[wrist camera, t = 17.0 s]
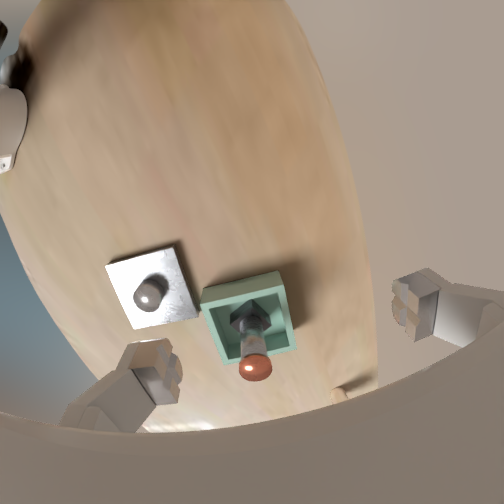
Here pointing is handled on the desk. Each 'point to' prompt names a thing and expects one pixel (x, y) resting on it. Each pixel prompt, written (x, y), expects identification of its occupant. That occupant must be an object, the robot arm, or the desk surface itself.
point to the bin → (232, 297)
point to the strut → (252, 340)
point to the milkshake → (338, 395)
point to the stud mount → (153, 288)
